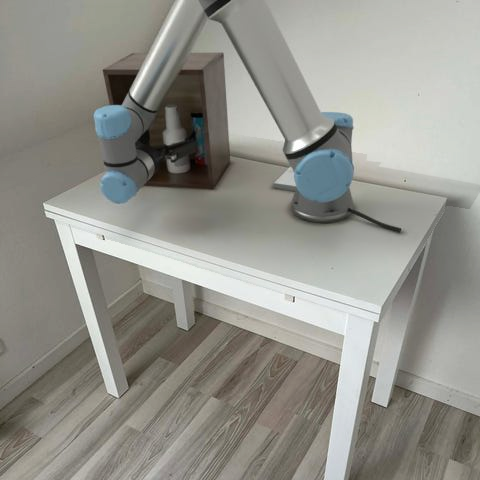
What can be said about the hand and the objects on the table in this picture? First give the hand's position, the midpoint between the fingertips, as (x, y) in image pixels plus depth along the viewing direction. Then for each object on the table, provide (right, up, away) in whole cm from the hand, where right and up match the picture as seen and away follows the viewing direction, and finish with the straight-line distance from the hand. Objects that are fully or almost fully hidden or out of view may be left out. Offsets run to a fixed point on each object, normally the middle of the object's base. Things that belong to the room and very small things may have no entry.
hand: (171, 134), depth 135 cm
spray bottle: (+1, -7, +10) cm, 12 cm away
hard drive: (+35, -12, +2) cm, 37 cm away
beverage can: (+8, +2, +10) cm, 13 cm away
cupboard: (+1, -8, +10) cm, 13 cm away
